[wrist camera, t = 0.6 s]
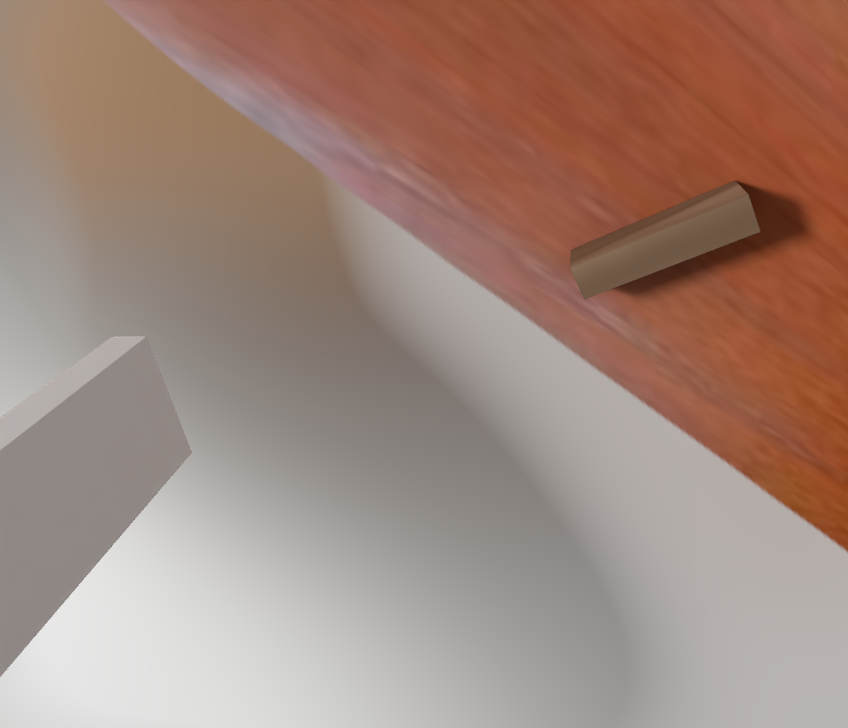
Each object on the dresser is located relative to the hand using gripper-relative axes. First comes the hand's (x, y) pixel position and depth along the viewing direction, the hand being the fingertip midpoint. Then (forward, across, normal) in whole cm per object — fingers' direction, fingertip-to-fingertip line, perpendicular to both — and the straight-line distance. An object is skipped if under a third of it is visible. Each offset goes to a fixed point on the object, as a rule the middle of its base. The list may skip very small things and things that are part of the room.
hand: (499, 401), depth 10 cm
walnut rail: (+26, +6, -6) cm, 27 cm away
